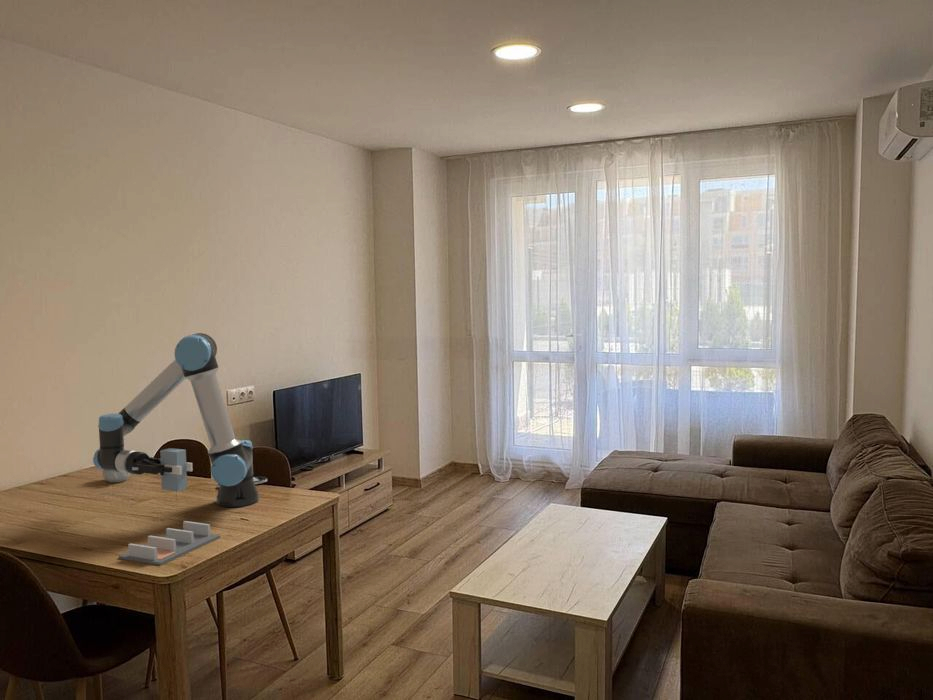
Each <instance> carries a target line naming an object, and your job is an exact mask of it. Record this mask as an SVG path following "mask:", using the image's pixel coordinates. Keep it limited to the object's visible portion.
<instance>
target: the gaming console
mask: <svg viewBox="0 0 933 700" xmlns="http://www.w3.org/2000/svg"><path fill="white" fill-rule="evenodd" d="M253 480H254V483H255V485H256V486H261V485H265V484H266V483H268V478H267V477H266V476H264V475H263V476H261V475H259V476H253ZM217 487H218V488H219V487H220V484H219V483H217Z"/></svg>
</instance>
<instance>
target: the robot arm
mask: <svg viewBox="0 0 933 700" xmlns="http://www.w3.org/2000/svg"><path fill="white" fill-rule="evenodd" d="M217 348H218V346H217V343H216V341H215V339H213V337H212V336H210V335H208V334H207V333H203V332H200V333H199V332H197V333H193V334H189V335H187V336H184V337H182V338H181V339H180V340H179V341H178V342H177V344H176V346H175V348H174V360H173V361H172V362H171V363H170V364H169V365H168V366H166V368H165V369H163V370H162V372H160V373H159V374H158V375H157V376H156V377H155V378H154V379H153V380H151V382H150V383H149V384H148V385H147V386H145V388H143V390H142V391H141V392H139V393H138V394H137V395H136V396H135V397H134V398H132V400H131V401H130V402H128V404H127V405H126V406H124V408H122V409H121V410H120V411H119V412H118V413H107V414H102V415H99V417H98V425H97V426H98V438H99V449H97V450H96V451H95V452H94V455H93V458H92V463H93V465H94V467H96V468H97V469H99V470H102V471H103V470H105V471H115V472H124V473H126V474H129V473H130V475H131V474H132V475H138V476H139V475H144V474H151V475H158V474H160V476H161V475H164V472H165V473H169V474H177V475H182V466H176V465H167V464H166V465H165V467H164V465H161V457H160V458H159V457H158V458H157V457H154V456H153V457H151V456H150V455H148V453H146V452H143V451H135V450H126V449H125V439H124V437H126V436H127V435H129V434H130V433H132V432H133V431H134V430H135V428H136V427H137V426H138V425H139V424H140V423H141V422H142V421H143V420H145V418H146V417H147V416H148V415H150V414H151V412H152V411H154V409H156V408H157V407H158V406H159V405H160V404H161V403H162V402H163V401H164V400H165V399H166V398H167V397H168V396H169V395H170V394H171V393H172V392H174V391H175V390H176V388H177V387H179V386H180V385H181V384H182V383H183V382H185V380H186V379H187V380H189V381H190V384H191V387H192V390H193V394H194V397H195V400H196V402H197V403H196V404H197V407H198V409H199V412H200V416H201V420H202V422H203V425H204V429H205V433H206V435H207V438H208V441H209V445H210V447H209V449H208V451H207V454H208V457H209V460H210V464H211V466H210V473H211V477H212V478H213V480H214V481H215V482H216V483H217V484H218V483H219V484H220V487H218V491H217V495H216V505H217V506H219V507H224V508H237V507H239V508H240V507H245V506H250V505H253V504H256V503H257V502H258V501H260V494H259V492H258V490H257V489H258V488H257V485H256V486H255V483H254V480H253V477H254V464H253V462H254V461H253V458H254V457H253V449H254V448H253V443H252V441H251V440H248V439H244V440H243V439H237V437H236V436H235V432H234V429H233V426H232V422H231V419H230V416H229V412H228V410H227V409H228V408H227V407H226V403H225V401H224V397H223V394H222V390H221V386H220V383H219V381H218V378H217V372H218V370H219V364H218V361H217V359H216V358H217V357H216V356H217V354H218V349H217ZM193 467H194V466H193V462H187V461H186V471H187V472H193V470H194V469H193Z"/></svg>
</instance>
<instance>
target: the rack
mask: <svg viewBox="0 0 933 700" xmlns="http://www.w3.org/2000/svg"><path fill="white" fill-rule="evenodd" d="M182 524H183V525H182V528H183V529H179V528H178V529H177V528H171V527H167V528H165V535H164V536H156V535H148V536H147V543H146V544H137V543H128V545H127V548H128V551H127V552H123V553H122V554H119V555H118V559H120V560H126V561H131V562H139V563H143V564H144V563H145V564H150V565H154V566H155V565H156V566H162V565H165V564H166V563H169V562H171V561H174V560H176V559H178V558H179V557H182V556H184V555H186V554H188V553H191V552H193V551H195V550H197V549H199V548H202V547H203V546H205V545H207V544H210V543H211V542H215V541H216V540H219V539H221V535H220V534H216V533H215V534H214V533H211V524H210V523H209V524H208V523H204V522H195V521H189V520H188V521H187V520H184V521H182Z"/></svg>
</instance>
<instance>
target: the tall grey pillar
mask: <svg viewBox="0 0 933 700" xmlns="http://www.w3.org/2000/svg"><path fill="white" fill-rule="evenodd" d="M159 451H160V452H159V455H160V458H161V465H164V467H165V465H166V464H167V465H176V466H182V475H177V474H169V473H165V472H164V475H160V477H161V479H160V480H161V481H160V482H161V490H164V491H169V492H170V491H171V492H181V491H183V490H184V491H185V490H187V489H188V476H187V475H188V474H187V472H188V471H186V462H187V449H181V448H172V447H168V448H165V449H161V450H159Z"/></svg>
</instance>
